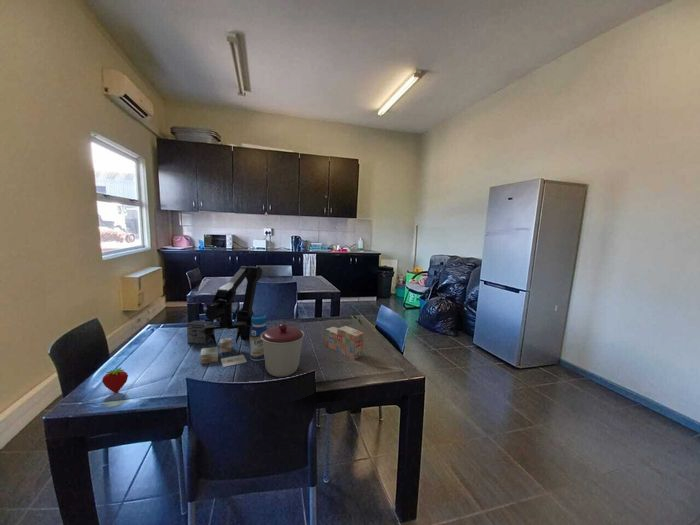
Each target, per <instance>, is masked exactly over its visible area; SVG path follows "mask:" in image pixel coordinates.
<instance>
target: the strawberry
mask: <svg viewBox="0 0 700 525" xmlns="http://www.w3.org/2000/svg"><path fill="white" fill-rule="evenodd" d="M117 367H118V365H117V364H116V366H115V368H116V369H115V370H111V369H110V370H109V371H106V372H105V373H106V374H105V375H103V377H102V379H101V382H102V383H103V386H105V388H107V389H108V390H109V391H111V392H113V393H117V394H118V392H120V390H121V389H122V388H123V387H124V386H125V384H126V383H127V381H128V378H129V375H128V372H125V370H124V369H122V367H120V368H117Z"/></svg>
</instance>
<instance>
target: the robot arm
mask: <svg viewBox="0 0 700 525" xmlns="http://www.w3.org/2000/svg"><path fill="white" fill-rule="evenodd" d="M262 274H263V269H262V268H261V267H260V266H256V265H254V266H252V265H249V266H246V265H241V266H239V269H238V271H237V272H236V273H235V274H234V275H233V276H232V278H231V279H230V280H229V281H228V282H227V283H225V284H224V285H223V284H222V286H220V287H219V288H218V289H217V291H216V293H215V295H214V297H213V300H212V302H211V303H212V304H209V305H208V308H206V310H205V317H206V318H207V319H208V320H209V321H214V320H216V323H218V324H219V325H217V326H215V325H214V324H211V325H206V326H205V328H204V334H207V335H208V336H210V337H211V338H212V340H213V341H212V342H213V345H214V347H217V338H216V331H223V330H232V329H233V330H234V329H236V334H235V344H238V341H239V338H241V340H246V339H249V335H250V328H251V326H252V324H251V317H252V316H253V315H255V313H254V311H253V305H254V300H255V294H256V289H257V284H258V282H259V281H260V280H261V277H262ZM245 279H246V287H245V293H244V298H243V303H242V308H241V309H240V310H238V311H237V313H236V314H237V315H236V317H235V318H236V323H237V324H236V323H235V324H233V304H234V303H235V302H236V301H235V300H234V298H235V296H236V294H237V290H238V288H239V286H240V285H241V284H242V283H243V281H244V280H245Z"/></svg>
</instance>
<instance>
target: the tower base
mask: <svg viewBox="0 0 700 525" xmlns="http://www.w3.org/2000/svg"><path fill="white" fill-rule="evenodd" d="M217 362H219V346H214V347H203V348H201V350H200V365H201V364H209V363H217Z"/></svg>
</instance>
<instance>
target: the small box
mask: <svg viewBox="0 0 700 525" xmlns="http://www.w3.org/2000/svg"><path fill="white" fill-rule="evenodd" d="M213 323H214V322H213V321H206V320H192V321H190V322H188V323H186V327H187V330H186V332H187V344H189V345H190V344H191V345H200V346H201V345H202V346H207V345H208V344H210V343H212V342H213V340H212V338H211V337H210V336H208V335H207V334H204V328H205V326H206V325H211V324H213Z"/></svg>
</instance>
